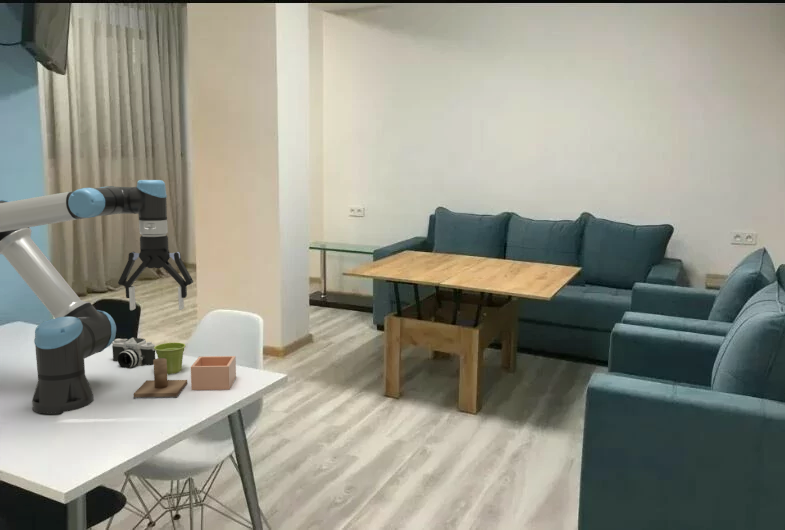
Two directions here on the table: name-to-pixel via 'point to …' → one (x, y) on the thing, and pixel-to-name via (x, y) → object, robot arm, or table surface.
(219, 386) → the pink open box
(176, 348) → the plant pot
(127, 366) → the camera
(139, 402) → the table surface
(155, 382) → the lid
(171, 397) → the mat
